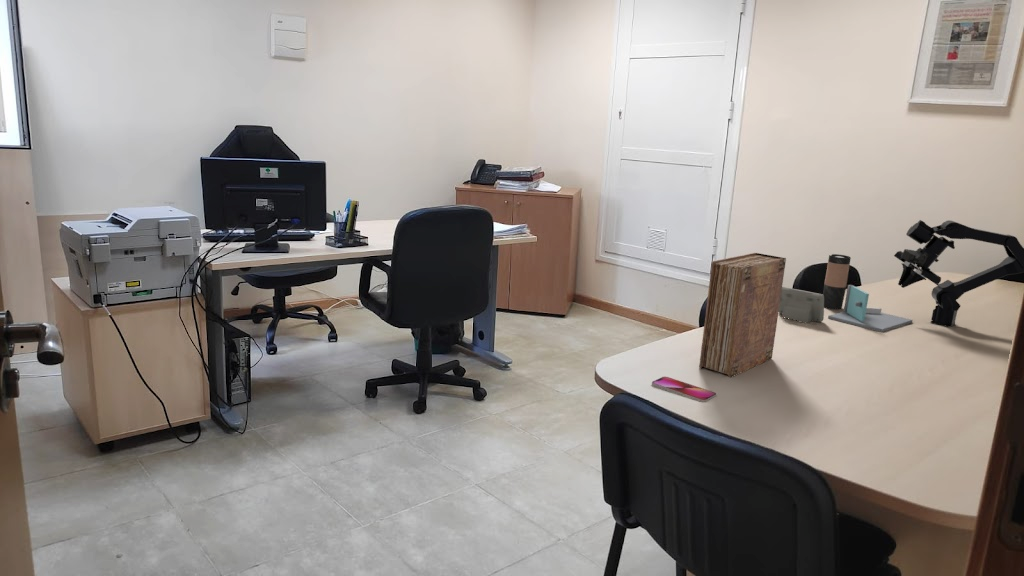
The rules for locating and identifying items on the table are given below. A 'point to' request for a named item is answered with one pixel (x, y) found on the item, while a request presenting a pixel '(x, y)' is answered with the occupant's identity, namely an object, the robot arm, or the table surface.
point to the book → (741, 312)
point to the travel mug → (836, 281)
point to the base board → (872, 320)
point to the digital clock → (801, 305)
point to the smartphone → (683, 389)
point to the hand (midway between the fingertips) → (900, 286)
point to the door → (856, 302)
